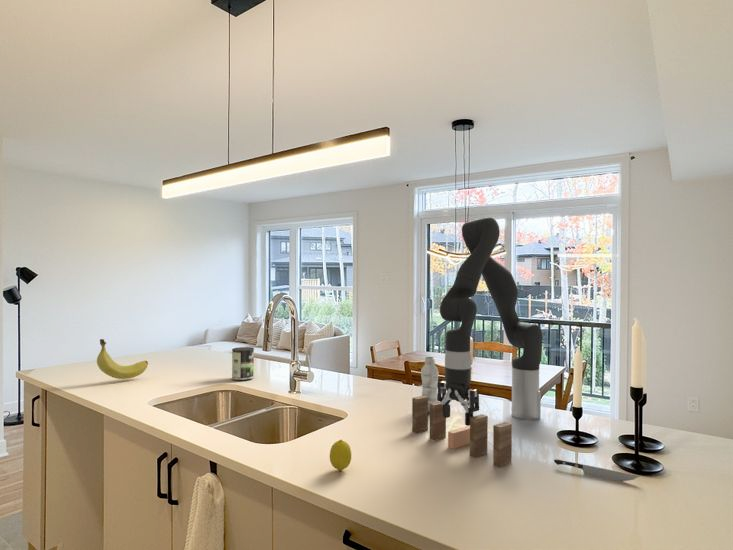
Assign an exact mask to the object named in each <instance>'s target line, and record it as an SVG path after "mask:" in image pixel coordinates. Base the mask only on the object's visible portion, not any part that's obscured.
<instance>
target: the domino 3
mask: <svg viewBox="0 0 733 550" xmlns="http://www.w3.org/2000/svg"><path fill="white" fill-rule="evenodd" d="M466 445H470V425H469V426H467V425H466V426H462V427H460V428H455V429H452V430H449V431H447V447H448V448H451V449H452V450H454V449H458V448H460V447H463V446H466Z"/></svg>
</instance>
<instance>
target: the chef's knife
mask: <svg viewBox="0 0 733 550" xmlns="http://www.w3.org/2000/svg"><path fill="white" fill-rule="evenodd" d="M553 461H554V463H555V464H556V465H558V466H559V465H564V466H570V467H574V468H577V469H579V470H580V469H581V470H582V473H583V475H587V476H591V477H596V478H601V479H606V480H612V481H617V482H627V481H633V480H635V479H637V478H639V477H640V475H637V474H633V473H632V474H631V473H629V472H628V473H627V472H623V471H618V470H614V469H610V468H609V469H608V468H603V467H599V466H593V465H588V464H582V463H575V462H572V461H565V460H562V459H553Z"/></svg>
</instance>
